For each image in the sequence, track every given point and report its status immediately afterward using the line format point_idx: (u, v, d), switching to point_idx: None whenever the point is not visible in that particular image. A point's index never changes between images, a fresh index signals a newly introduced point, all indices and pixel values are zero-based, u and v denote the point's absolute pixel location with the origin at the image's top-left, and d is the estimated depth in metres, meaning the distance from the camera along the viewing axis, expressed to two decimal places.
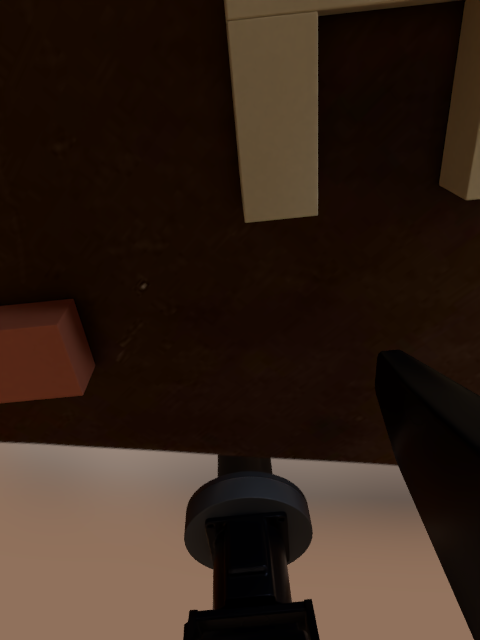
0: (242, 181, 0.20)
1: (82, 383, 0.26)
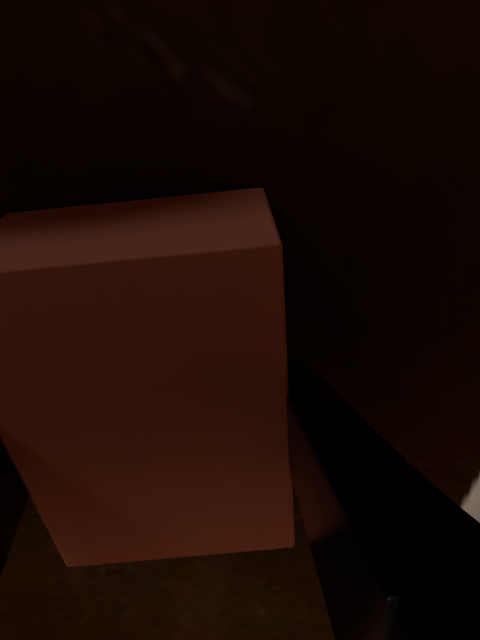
0: None
1: (237, 235, 0.06)
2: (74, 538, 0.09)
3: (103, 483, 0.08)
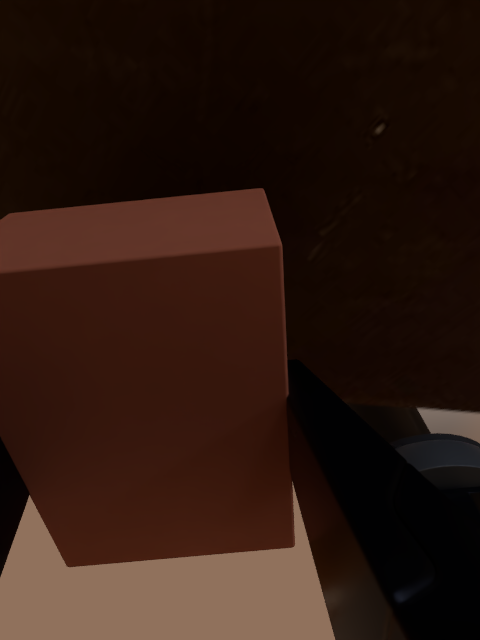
0: None
1: (237, 235, 0.06)
2: (74, 538, 0.09)
3: (104, 483, 0.08)
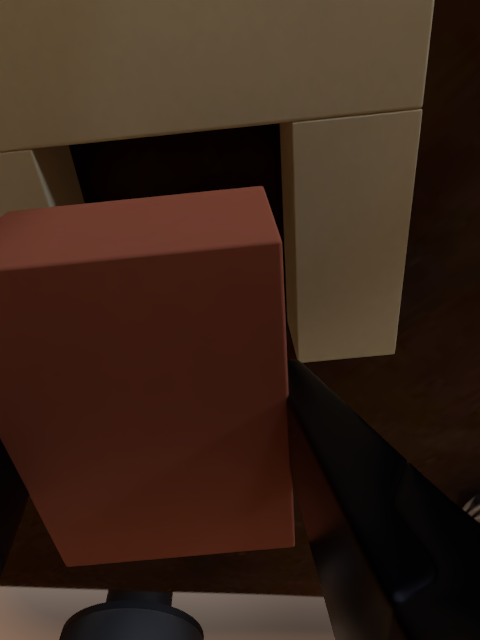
0: None
1: (237, 233, 0.06)
2: (73, 538, 0.09)
3: (102, 483, 0.08)
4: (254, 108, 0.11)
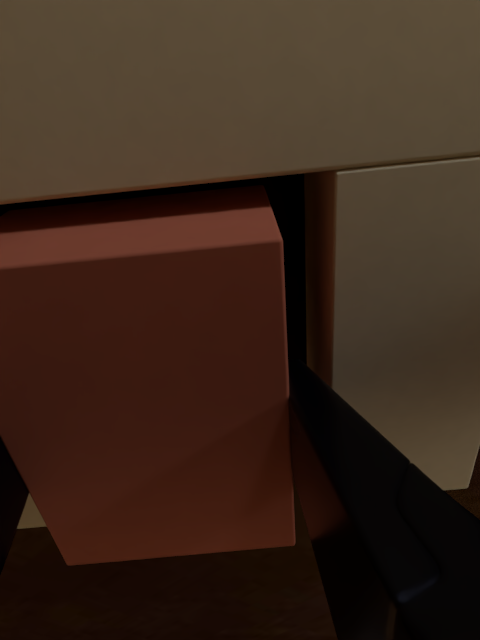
0: None
1: (238, 231, 0.06)
2: (74, 536, 0.09)
3: (103, 482, 0.08)
4: (271, 148, 0.06)
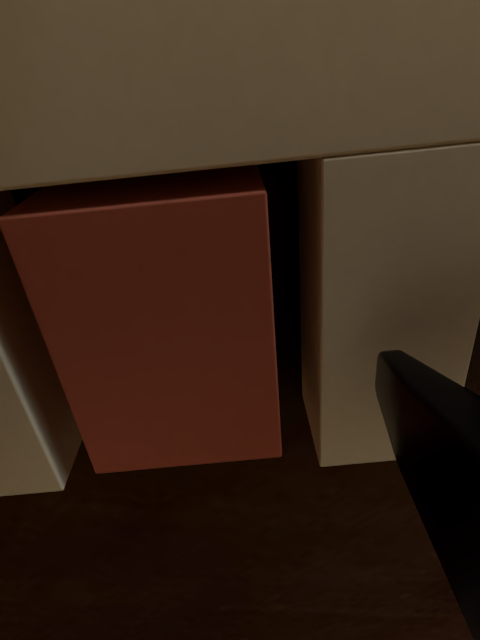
0: None
1: (234, 188, 0.08)
2: (103, 445, 0.11)
3: (128, 395, 0.10)
4: (265, 138, 0.07)
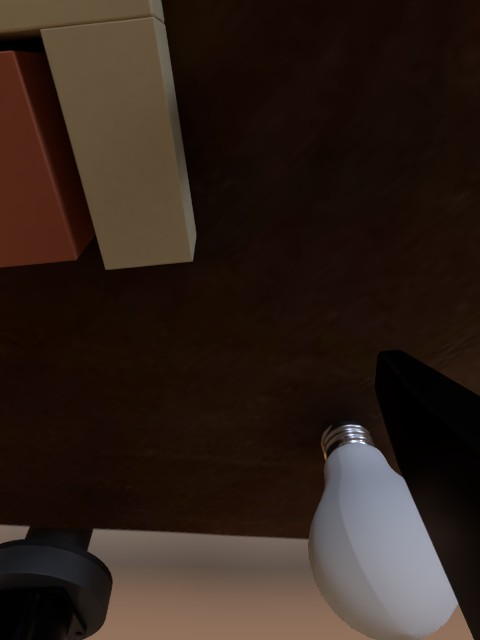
0: None
1: None
2: None
3: None
4: (2, 15, 0.13)
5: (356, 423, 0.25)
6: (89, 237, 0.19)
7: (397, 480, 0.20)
